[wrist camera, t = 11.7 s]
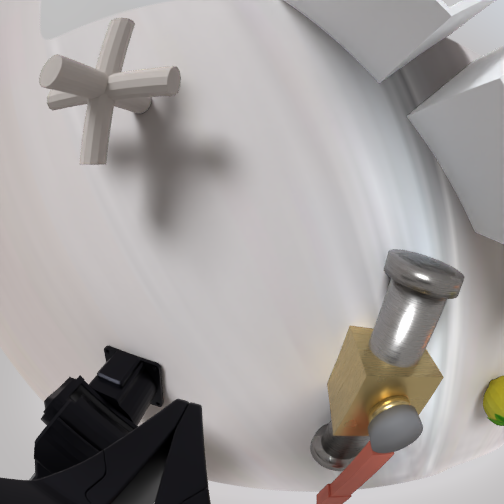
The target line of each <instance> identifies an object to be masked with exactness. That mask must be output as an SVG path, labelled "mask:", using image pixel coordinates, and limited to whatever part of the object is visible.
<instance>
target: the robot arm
mask: <svg viewBox="0 0 504 504" xmlns="http://www.w3.org/2000/svg"><path fill="white" fill-rule="evenodd" d="M104 352H105V358H106V363H105V365H104V366H103V367H102V368H101V369H100V370H99V371H98V372H97V376H96V377H95V378H94V379H93V380H92V381H91V382H90V384H89V385H88V384H87V383H86V382H85V381H84V379H83V378H82V377H81V376H79V377H78V378H77V379H73V378H71V377H69V378H68V379H67V380H66V381H65V382H64V383H63V384H62V385H61V386H60V387H59V388H58V389H57V390H56V391H55V392H53V393H52V394H51V395H50V396H49V397H47V399H46V400H45V401H44V404H45V411H44V415H43V417H42V418H41V420H42V421H43V422H44V423H45V424H46V425H47V426H46V427H45V429H44V430H43V431H42V433H41V434H40V435H39V436H38V438H37V439H36V441H35V448H34V459H35V473H34V475H33V476H32V477H31V479H30V480H15V479H7V478H0V504H210V497H209V490H208V480H207V471H206V460H205V448H204V435H203V421H202V406H201V405H199V404H195V403H189V402H188V401H185V400H181V399H176V400H175V401H173V402H172V403H171V404H169V405H168V406H167V407H165V408H164V409H163V410H161V411H160V412H158V413H157V414H156V415H154V416H153V417H151V418H150V419H149V420H147V421H146V422H144V423H143V424H142V425H140V426H139V427H138V426H137V425H138V424H139V422H140V420H141V418H142V417H143V415H144V413H145V412H146V410H147V408H148V406H149V405H150V404H152V405H155V406H158V407H161V406H162V405H163V392H162V379H161V367H160V365H159V364H158V363H156V362H153V361H150V360H147V359H144V358H141V357H138V356H135V355H132V354H129V353H127V352H124V351H121V350H119V349H116V348H113V347H111V346H106V347H105V348H104ZM155 367H156V368H155ZM154 502H155V503H154Z"/></svg>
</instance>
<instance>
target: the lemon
mask: <svg viewBox="0 0 504 504" xmlns="http://www.w3.org/2000/svg"><path fill="white" fill-rule="evenodd" d="M483 407H484V410H485V412H486V414H487V415H488V417H489V418H488V417H487V418H488V419H489V420H490V421H492V422H493V423H495V424H496V425H499V426H504V376H501V377H499V378H497V379H494V380H491V381H490V383H489V387H488V389H487V390H486V392H485V394H484V398H483Z"/></svg>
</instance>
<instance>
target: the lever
mask: <svg viewBox="0 0 504 504" xmlns="http://www.w3.org/2000/svg"><path fill="white" fill-rule="evenodd" d="M422 431H423V425H422V423H421V420H420V418H419V415H418V413H417V411H416V409H415V407H414V406H412V405H406V404H404V405H397V406H394V407H391V408H388V409H386V410H384V411H383V412H381V413H379V414H378V415H377V416H375V417H374V418H373V419H372V420H371V422H370V423H369V425H368V433H369V438H370V441H369V442H368V443H367V444H366V446H365V447H364V448H363V449H362V450H361V452H360V453H359V454H358V455H357V456H356V458H355V459H354V460H353V461H352V462H351V463H350V464H349V465H348V466H347V468H346V469H345V470H344V471H343V472H342V473H341V474H340V475H339V476H338V477H337V478H336V479H335V480H334V481H333V482H332V483H331V484H327V485H326V486H325V487H324V488H323V489H322V490H321V491H320V492H319V493H318V494H317V504H343V503H344V502H345V501H346V500H348V499H349V498H350V497H351V494H352V493H353V492H354V491H356V490H357V489H358V488H359V487H360V486H362V485H363V484H364V483H365V482H366V481H367V480H368V479H369V478H370V477H371V476H373V475H374V474H375V473H376V472H377V471H378V470H379V469H380V468H381V467H382V466H383V465H384V464H385V463H386V462H387V461H388V460H389V459H390V458H391V457H392V456H393V455H394V451H397V450H400V449H402V448H404V447H406V446H408V445H410V444H411V443H413V442H414V441H415V440H416V439H417V438H418V437H419V436H420V435H421V433H422Z"/></svg>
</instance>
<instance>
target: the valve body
mask: <svg viewBox="0 0 504 504" xmlns="http://www.w3.org/2000/svg"><path fill="white" fill-rule="evenodd" d="M384 271H385V273H386V274H387V275H388V276H389V277H391V281H390V284H389V287H388V290H387V293H386V296H385V299H384V302H383V305H382V308H381V311H380V313H379V316H378V319H377V321H376V324H375V327H374V329H372V328H363V327H355V326H349V329H348V332H347V335H346V338H345V340H344V343H343V346H342V348H341V351H340V354H339V356H338V359H337V361H336V364H335V366H334V369H333V371H332V374H331V376H330V378H329V381H328V383H327V386H328V394H329V402H330V410H331V421H330V423H329V424H326V425H324V426H322V427H321V428H320V429H319V430H318V431H317V432H316V434H315V436H314V437H313V439H312V441H311V446H310V449H311V454H312V456H313V458H314V459H315V460H316V461H317V462H318V463H319V464H320V465H321V466H323V467H325V468H327V469H330V470H335V471H343V470H345V469H346V468H347V466H348V465H349V464H350V463H351V462H352V461H353V460H354V459H355V458H356V456H357V455H358V454H359V453H360V452H361V450H362V449H363V448H364V447H365V446H366V444H367V443H368V441H369V440H370V438H369V433H368V425H369V423H370V422H371V420H372V419H373V418H374V417H375V416H377V415H378V414H379V413H381V412H383V411H384V410H386V409H388V408H391V407H394V406H397V405H404V404H406V405H412V406H414V407H415V409H416V411H417V413H418V415H419V414H420V412H421V411H422V409H423V408H424V407H425V405H426V404H427V402H428V401H429V399H430V398H431V396H432V395H433V393H434V392H435V390H436V388H437V387H438V385H439V384H440V382H441V380H442V379H443V376H442V374H441V372H440V371H439V369H438V367H437V366H436V364H435V363H434V361H433V360H432V358H431V356H430V355H429V353H428V352H427V350H426V347H427V344H428V342H429V340H430V338H431V336H432V334H433V332H434V329H435V327H436V325H437V322H438V320H439V318H440V315H441V313H442V310H443V308H444V305H445V303H446V300H447V299H453V298H456V297H457V296H458V294H459V292H460V289H461V286H462V283H463V280H464V275H463V274H462V273H461V272H459V271H458V270H457V269H455V268H453V267H452V266H450V265H448V264H446V263H443V262H441V261H439V260H436V259H434V258H431V257H428V256H425V255H422V254H418V253H415V252H411V251H405V250H398V249H393V250H389V252H388V256H387V259H386V263H385V266H384Z"/></svg>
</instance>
